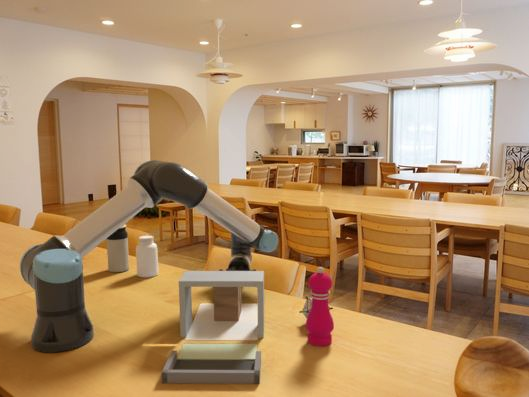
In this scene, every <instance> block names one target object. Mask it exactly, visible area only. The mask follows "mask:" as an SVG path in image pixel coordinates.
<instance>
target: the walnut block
mask: <svg viewBox="0 0 529 397" xmlns="http://www.w3.org/2000/svg"><path fill="white" fill-rule="evenodd" d="M213 303H214V321H239V317H240V313H241V303H242V287H213Z"/></svg>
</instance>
